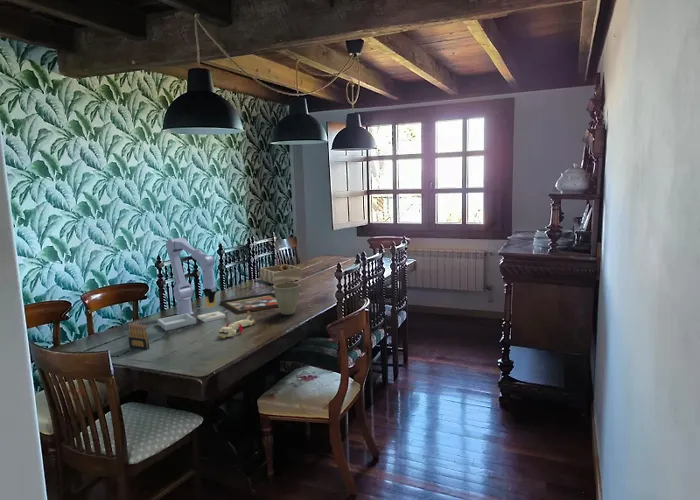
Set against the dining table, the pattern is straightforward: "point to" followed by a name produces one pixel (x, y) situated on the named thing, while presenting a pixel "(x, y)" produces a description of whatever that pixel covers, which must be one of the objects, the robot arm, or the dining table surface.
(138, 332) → the ammunition clip
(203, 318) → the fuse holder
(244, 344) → the dining table surface
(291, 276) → the display box
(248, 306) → the framed painting
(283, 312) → the plant pot
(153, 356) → the dining table surface
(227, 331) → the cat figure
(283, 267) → the bear figurine
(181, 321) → the parts tray
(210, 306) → the block
